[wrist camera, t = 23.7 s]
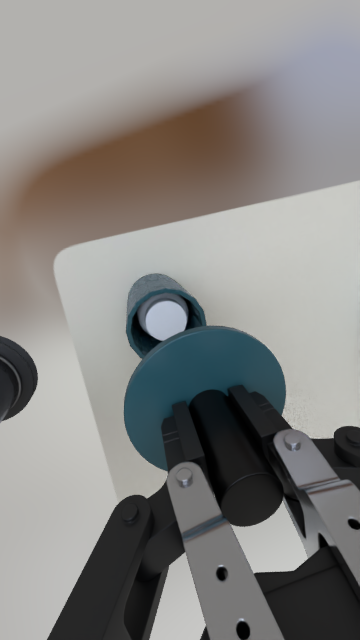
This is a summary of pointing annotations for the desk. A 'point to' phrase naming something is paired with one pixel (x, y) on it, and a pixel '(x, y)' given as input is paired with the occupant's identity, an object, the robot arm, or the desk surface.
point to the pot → (144, 291)
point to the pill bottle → (163, 315)
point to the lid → (211, 412)
